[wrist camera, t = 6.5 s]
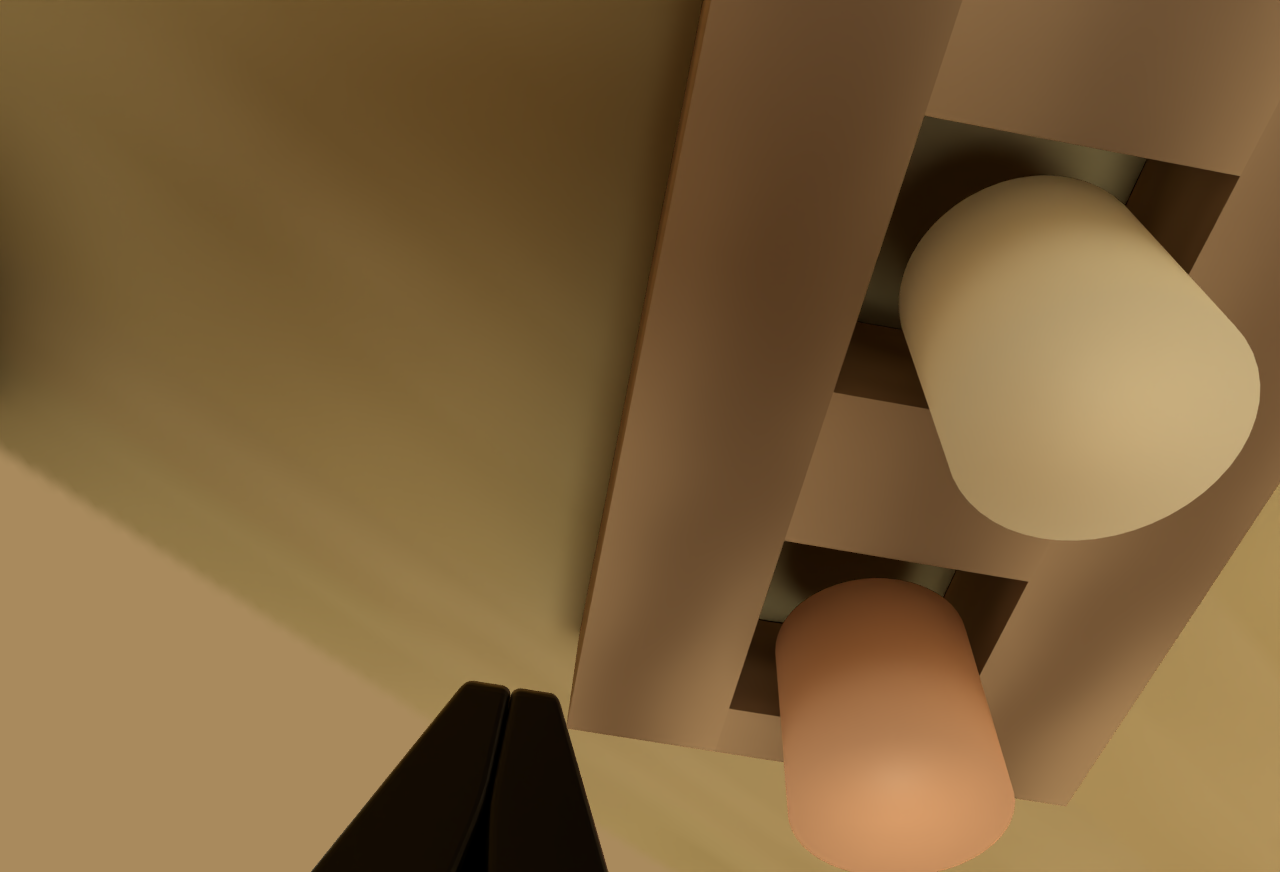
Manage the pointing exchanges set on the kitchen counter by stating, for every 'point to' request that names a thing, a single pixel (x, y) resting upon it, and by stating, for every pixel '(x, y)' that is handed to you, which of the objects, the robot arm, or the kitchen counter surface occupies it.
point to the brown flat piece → (909, 358)
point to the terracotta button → (887, 731)
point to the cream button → (1071, 362)
